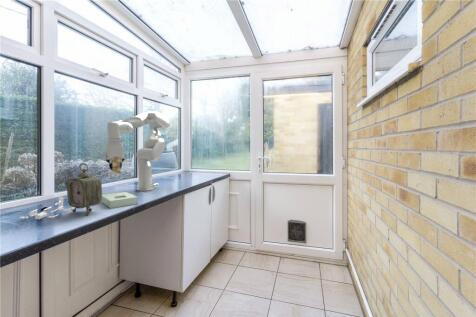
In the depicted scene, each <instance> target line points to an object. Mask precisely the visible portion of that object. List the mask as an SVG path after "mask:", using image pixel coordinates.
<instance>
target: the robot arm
mask: <svg viewBox="0 0 476 317" xmlns="http://www.w3.org/2000/svg"><path fill="white" fill-rule="evenodd" d="M148 124H149V129H150V133H149V136H148V137H147V138H146V140H145V142H144V147H143V148H139V149H138V150H137V152H136V159H137V167H138V168H137V169H138V171H137V172H138V175H137V176H138V187H136V191H137V192H138V191H139V192H145V191H146V192H147V191H153V190H155V187H159V183H153V168H152V164H151V162H157V161H158V160H159V159H160V157H161V155H162V154H163V152H164V151H165V148H166V141H165V140H164V138H162V134H161V131H160V130H161V129H167V128H169V127H170V126H171V125H170V121H169V119H168V118H167V117H166V116H165V115H163V114H162V113H160V112H158V111H156V110H153V111H144V112H142V113H139V114H136V115H134V116H132V117H128V118H123V119H121V120H118V121H108V122H107V126H106V127H107V142H106V145H105V154H104V155H103V157H102V159H103V160H104V161H105V162H107V163H108V168H109V170H110V171H111V170H112V169H113V166H112V157H120V170H122V167H123V164H122V163H123V162H124V161H125V160H127V159H128V156H126V154H125V149H124V145H123V142H124V139H123V138H122V134H123V135H124V134H125V135H127V134H130V133H132V132H133V131H134V129H139V128H141V127H143V126H146V125H148Z"/></svg>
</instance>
